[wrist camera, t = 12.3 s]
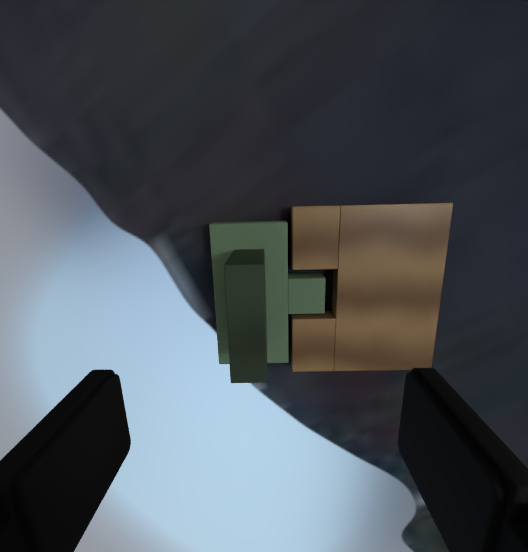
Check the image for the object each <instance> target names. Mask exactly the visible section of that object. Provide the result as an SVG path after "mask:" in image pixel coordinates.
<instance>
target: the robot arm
mask: <svg viewBox="0 0 528 552" xmlns="http://www.w3.org/2000/svg"><path fill="white" fill-rule="evenodd" d="M130 441H131V440H130V435H129V428H128V423H127V418H126V412H125V406H124V400H123V395H122V389H121V383H120V379H119V376H118V375H117V374H115V373H114V372H113V370H92V371H91V372H90V373H89V374H88V375H87V376H86V377H85V378H84V379H83V380H82V381H81V382H80V383H79V384H78V385H77V386H76V387H75V388H74V389H73V390H71V391H70V393H68V394H67V395H66V396H65V398H63V399H62V401H61V402H59V403H58V404H57V405H56V406H55V407H54V409H52V410H51V411H50V412H49V413H48V414H47V415H46V416H45V417H44V418H43V419H42V420H41V421H40V422H39V423H38V424H37V425H36V426H35V427H34V428H33V429H32V430H31V431H30V432H29V433H28V434H27V435H26V436H25V437H24V438H23V439H22V440H21V441H20V442H19V443H18V444H17V445H16V446H15V447H14V448H13V449H12V450H11V451H10V452H9V453H8V454H7V455H6V456H5V457H4V458H3V459H2V460H1V461H0V552H74V550H75V548H76V547H77V545H78V543H79V541H80V539H81V538H82V536H83V534H84V532H85V530H86V528H87V527H88V525H89V523H90V521H91V519H92V518H93V516H94V514H95V512H96V510H97V509H98V507H99V505H100V503H101V501H102V499H103V498H104V496H105V494H106V492H107V490H108V489H109V487H110V485H111V483H112V481H113V480H114V477H115V476H116V474H117V472H118V471H119V469H120V467H121V465H122V463H123V461H124V460H125V458H126V456H127V454H128V452H129V449H130V444H131V442H130ZM398 446H399V451H400V453H401V456H402V458H403V460H404V462H405V464H406V466H407V468H408V470H409V472H410V474H411V476H412V478H413V480H414V482H415V484H416V486H417V488H418V490H419V492H420V494H421V496H422V498H423V500H424V502H425V504H426V506H427V508H428V510H429V512H430V514H431V516H432V518H433V520H434V522H435V524H436V526H437V528H438V530H439V532H440V534H441V536H442V538H443V540H444V542H445V544H446V546H447V548H448V550H449V552H528V468H527V467H526V466H525V465H524V464H523V463H522V462H521V461H520V460H519V459H518V458H517V457H516V456H515V455H514V453H513V452H512V451H511V450H510V449H509V448H508V447H507V446H506V445H505V444H504V443H503V442H502V441H501V439H500V438H499V437H498V436H497V435H496V434H495V433H494V432H493V431H492V430H491V429H490V428H489V427H488V426H487V424H486V423H485V422H484V421H483V420H482V419H481V418H480V417H479V416H478V415H477V414H476V413H475V412H474V411H473V409H472V408H471V407H470V406H469V405H468V404H467V403H466V402H465V401H464V400H463V399H462V398H461V397H460V396H459V394H458V393H457V392H456V391H455V390H454V389H453V388H452V387H451V386H450V385H449V384H448V383H447V382H446V381H445V379H444V378H443V377H442V376H441V375H440V374H439V373H438V372H437V371H436V370H435V369H434V368H413V369H412V371H411V373H407V375H406V380H405V388H404V396H403V404H402V412H401V420H400V428H399V436H398Z"/></svg>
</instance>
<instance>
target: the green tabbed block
mask: <svg viewBox="0 0 528 552" xmlns="http://www.w3.org/2000/svg"><path fill="white" fill-rule="evenodd" d="M209 229H210V243H211V257H212V271H213V284H214V298H215V312H216V326H217V340H218V353H219V363H220V364H230V376H231V383H257V382H267V363H288V314H313V313H325V277H324V276H323V275H322V273H300V274H288V223H287V221H248V222H214V223H211V224H209Z"/></svg>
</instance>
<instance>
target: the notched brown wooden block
mask: <svg viewBox="0 0 528 552" xmlns="http://www.w3.org/2000/svg"><path fill="white" fill-rule="evenodd" d="M452 209H453V203H401V204H361V205H321V206H291V267H292V270H315V269H333V284H332V312H331V311H325V313H313V314H291V365H292V371H293V372H300V371H365V370H412V369H413V368H431V367H432V359H433V352H434V344H435V337H436V329H437V322H438V314H439V307H440V299H441V291H442V284H443V276H444V269H445V261H446V254H447V246H448V239H449V231H450V224H451V216H452Z"/></svg>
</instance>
